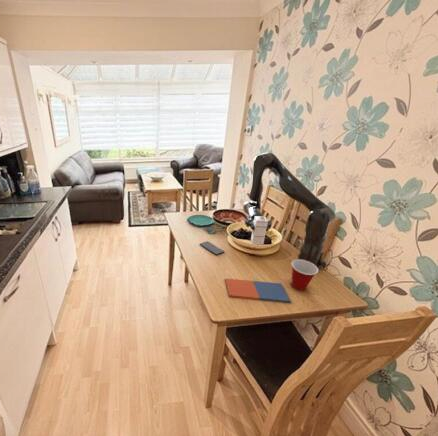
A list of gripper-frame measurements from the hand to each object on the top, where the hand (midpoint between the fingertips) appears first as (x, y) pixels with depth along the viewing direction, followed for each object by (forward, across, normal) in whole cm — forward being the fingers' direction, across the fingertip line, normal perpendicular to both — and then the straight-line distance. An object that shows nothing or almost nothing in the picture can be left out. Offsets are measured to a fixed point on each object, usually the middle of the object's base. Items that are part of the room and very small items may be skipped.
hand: (260, 229), depth 126 cm
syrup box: (-2, 0, +9) cm, 10 cm away
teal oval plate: (-43, -29, +20) cm, 56 cm away
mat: (+26, -3, +20) cm, 33 cm away
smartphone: (-8, -23, +20) cm, 32 cm away
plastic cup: (+18, +18, +20) cm, 32 cm away
